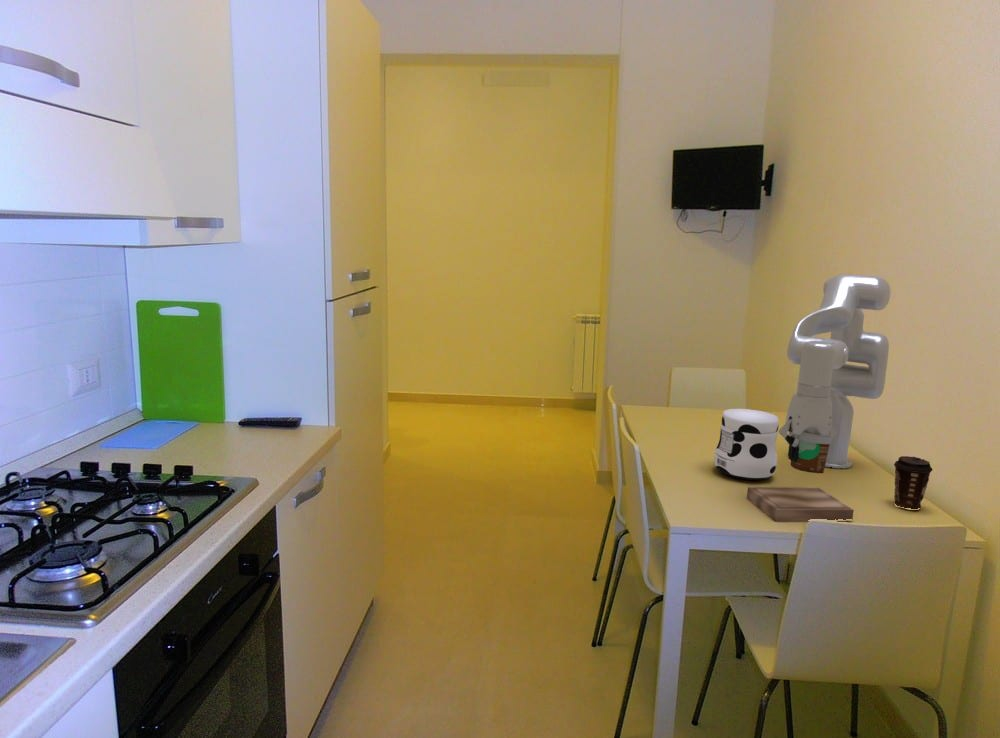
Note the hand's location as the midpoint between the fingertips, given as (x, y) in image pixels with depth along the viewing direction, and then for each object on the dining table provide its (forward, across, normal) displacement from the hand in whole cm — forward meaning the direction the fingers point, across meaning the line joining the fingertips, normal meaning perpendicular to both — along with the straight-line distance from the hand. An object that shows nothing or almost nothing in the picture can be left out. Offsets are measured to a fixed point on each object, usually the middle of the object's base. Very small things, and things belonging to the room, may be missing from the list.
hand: (804, 460), depth 184 cm
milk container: (+13, +2, -27) cm, 30 cm away
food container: (+2, +1, 0) cm, 2 cm away
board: (+13, 0, 0) cm, 13 cm away
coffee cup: (+13, -32, -2) cm, 35 cm away
